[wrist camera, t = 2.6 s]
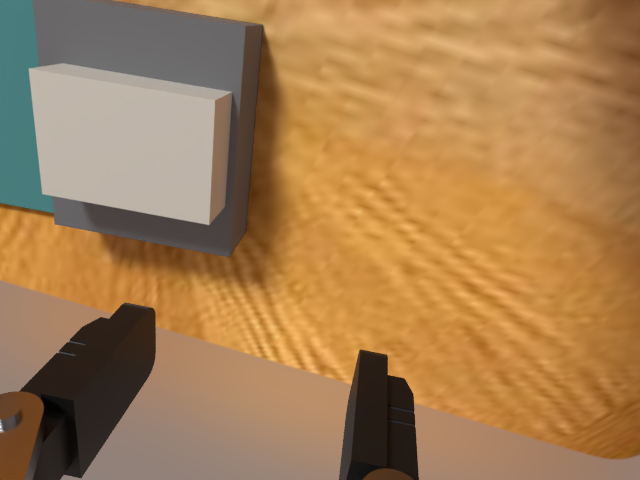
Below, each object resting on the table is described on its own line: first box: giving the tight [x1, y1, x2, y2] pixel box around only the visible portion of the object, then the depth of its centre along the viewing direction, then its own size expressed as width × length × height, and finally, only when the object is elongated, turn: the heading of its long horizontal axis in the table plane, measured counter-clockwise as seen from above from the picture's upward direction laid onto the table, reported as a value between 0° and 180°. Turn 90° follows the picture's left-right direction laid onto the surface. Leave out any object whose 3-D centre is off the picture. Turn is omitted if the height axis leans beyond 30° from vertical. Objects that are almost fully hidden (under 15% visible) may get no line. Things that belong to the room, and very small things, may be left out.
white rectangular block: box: [29, 63, 232, 225], centre depth 28 cm, size 10×7×3 cm
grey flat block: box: [32, 0, 263, 257], centre depth 31 cm, size 12×14×4 cm
